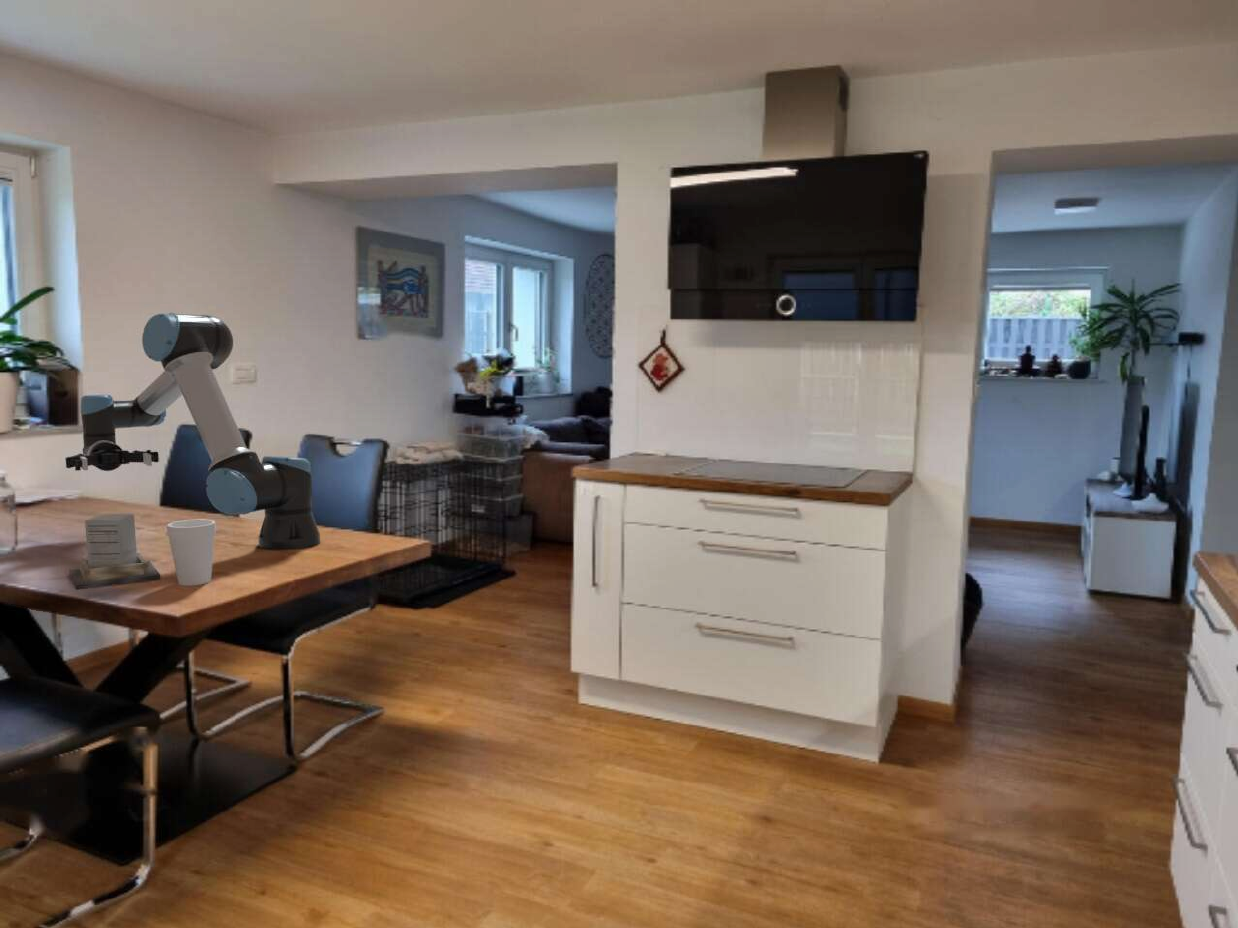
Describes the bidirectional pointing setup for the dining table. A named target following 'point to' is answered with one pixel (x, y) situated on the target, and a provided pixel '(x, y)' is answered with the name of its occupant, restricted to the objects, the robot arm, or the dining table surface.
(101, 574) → the keeper cradle
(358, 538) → the dining table surface
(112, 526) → the supplement box
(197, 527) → the foam cup
